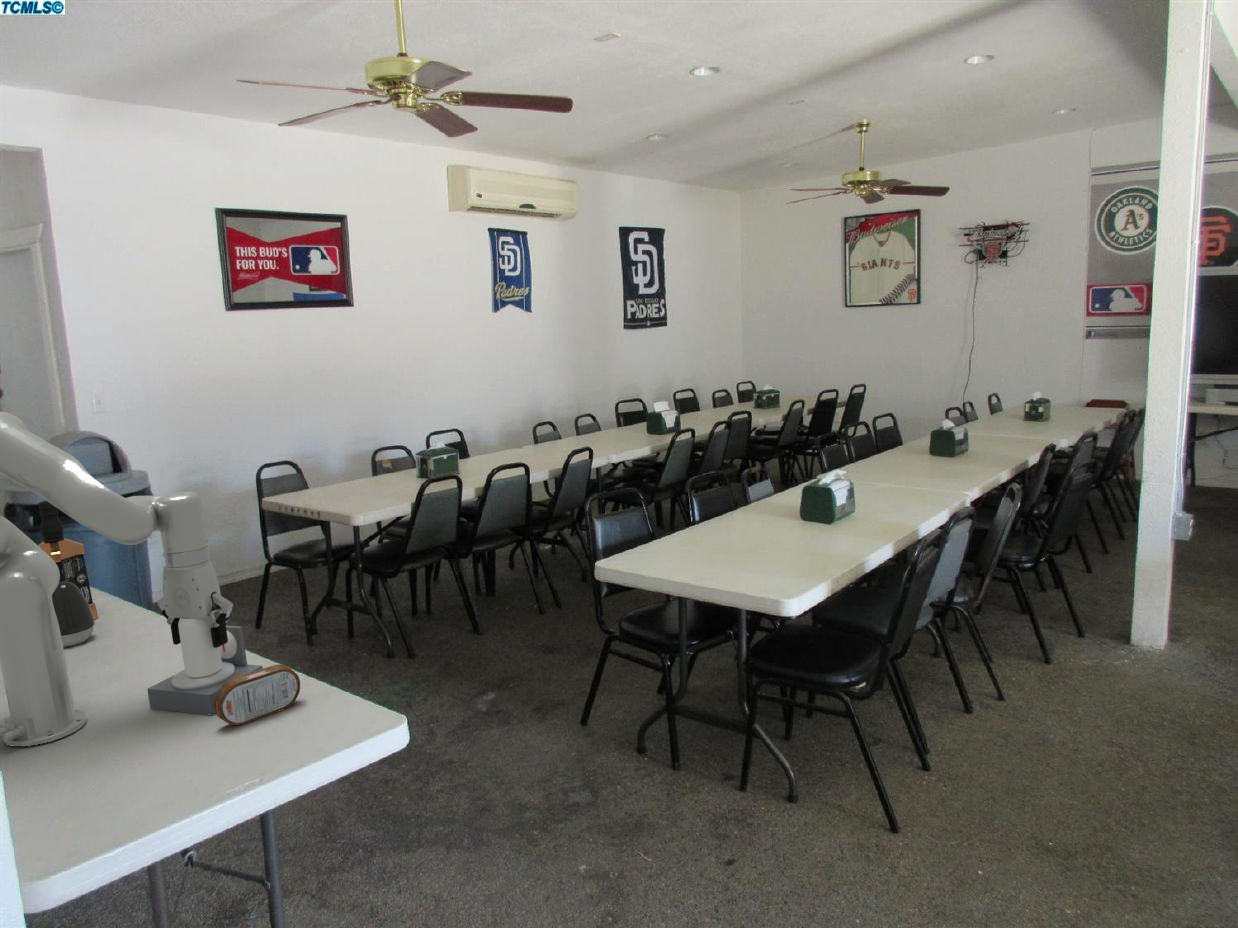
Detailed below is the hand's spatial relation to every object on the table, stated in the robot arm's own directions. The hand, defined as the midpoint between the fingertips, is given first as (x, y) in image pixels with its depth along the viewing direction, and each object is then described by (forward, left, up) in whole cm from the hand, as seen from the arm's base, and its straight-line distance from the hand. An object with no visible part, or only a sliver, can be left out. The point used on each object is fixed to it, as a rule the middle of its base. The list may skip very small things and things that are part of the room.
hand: (200, 643), depth 165 cm
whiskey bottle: (+30, +75, -11) cm, 81 cm away
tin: (-5, -17, -11) cm, 21 cm away
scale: (0, 0, -11) cm, 11 cm away
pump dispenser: (+18, +60, -11) cm, 63 cm away
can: (0, 0, -6) cm, 6 cm away
